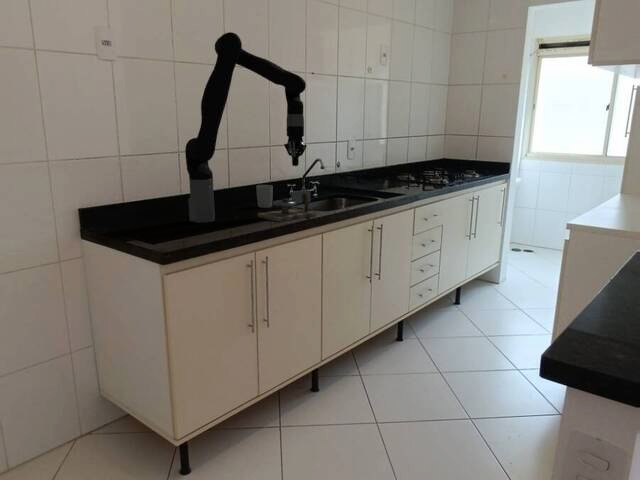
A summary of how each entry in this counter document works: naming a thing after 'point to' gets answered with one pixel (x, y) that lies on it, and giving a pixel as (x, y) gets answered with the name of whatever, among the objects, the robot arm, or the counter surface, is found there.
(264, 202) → the white cup
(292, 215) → the flange base
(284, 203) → the flange
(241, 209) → the counter surface
